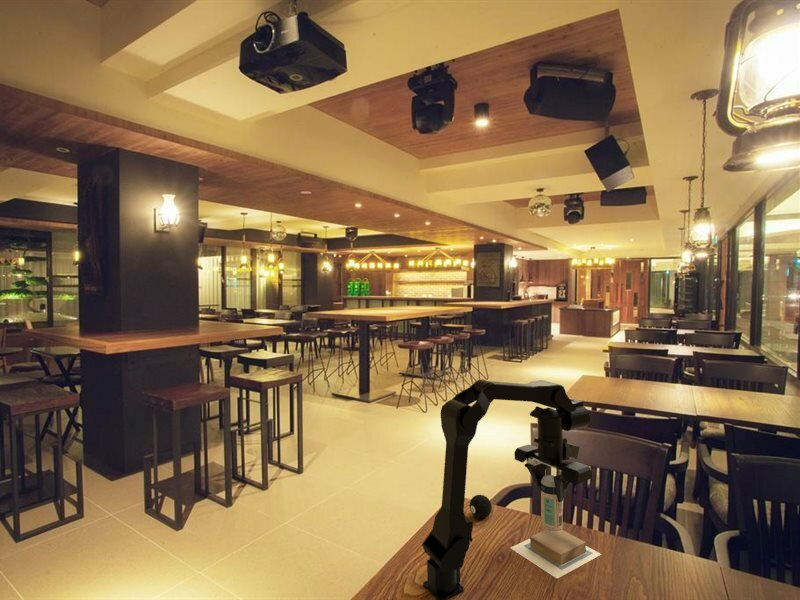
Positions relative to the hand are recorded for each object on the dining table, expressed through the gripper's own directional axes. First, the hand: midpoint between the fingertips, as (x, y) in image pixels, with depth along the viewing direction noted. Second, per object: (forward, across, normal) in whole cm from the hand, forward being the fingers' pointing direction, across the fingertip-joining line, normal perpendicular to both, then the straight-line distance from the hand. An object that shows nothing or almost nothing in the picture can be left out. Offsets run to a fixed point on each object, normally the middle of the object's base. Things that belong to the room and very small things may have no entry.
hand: (551, 497), depth 107 cm
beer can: (+8, 0, 0) cm, 8 cm away
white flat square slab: (+13, -1, 0) cm, 13 cm away
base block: (+13, -1, -1) cm, 13 cm away
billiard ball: (+14, +22, +3) cm, 26 cm away
